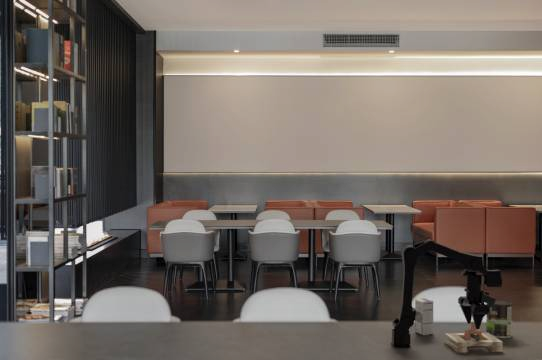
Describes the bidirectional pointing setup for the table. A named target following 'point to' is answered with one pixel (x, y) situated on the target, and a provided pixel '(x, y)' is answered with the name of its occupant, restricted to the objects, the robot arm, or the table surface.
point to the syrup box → (424, 316)
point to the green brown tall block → (499, 319)
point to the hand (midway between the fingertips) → (473, 326)
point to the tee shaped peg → (472, 332)
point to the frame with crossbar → (473, 342)
